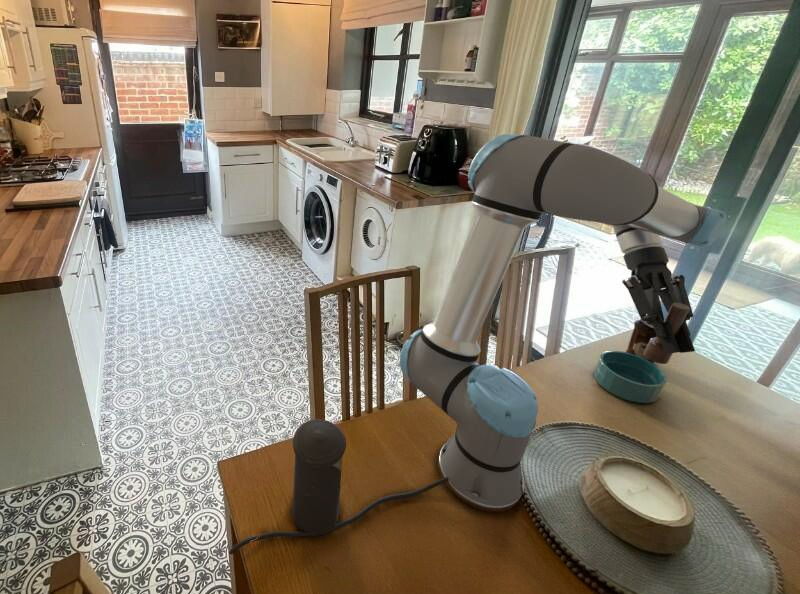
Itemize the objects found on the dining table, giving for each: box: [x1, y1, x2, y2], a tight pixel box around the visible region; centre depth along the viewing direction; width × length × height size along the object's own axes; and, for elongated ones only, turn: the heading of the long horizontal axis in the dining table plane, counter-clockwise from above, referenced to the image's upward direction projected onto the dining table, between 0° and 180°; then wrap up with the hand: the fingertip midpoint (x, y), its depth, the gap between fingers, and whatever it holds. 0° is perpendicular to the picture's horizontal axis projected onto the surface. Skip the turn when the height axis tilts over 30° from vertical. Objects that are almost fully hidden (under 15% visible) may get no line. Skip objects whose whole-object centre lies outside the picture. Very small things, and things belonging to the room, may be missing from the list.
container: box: [291, 418, 347, 537], centre depth 70 cm, size 9×9×20 cm
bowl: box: [593, 350, 668, 404], centre depth 103 cm, size 13×13×6 cm
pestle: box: [644, 303, 690, 365], centre depth 90 cm, size 4×4×14 cm
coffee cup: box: [625, 318, 657, 365], centre depth 110 cm, size 9×8×13 cm
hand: (679, 352), depth 88 cm, fingers closed on pestle, 3 cm apart
